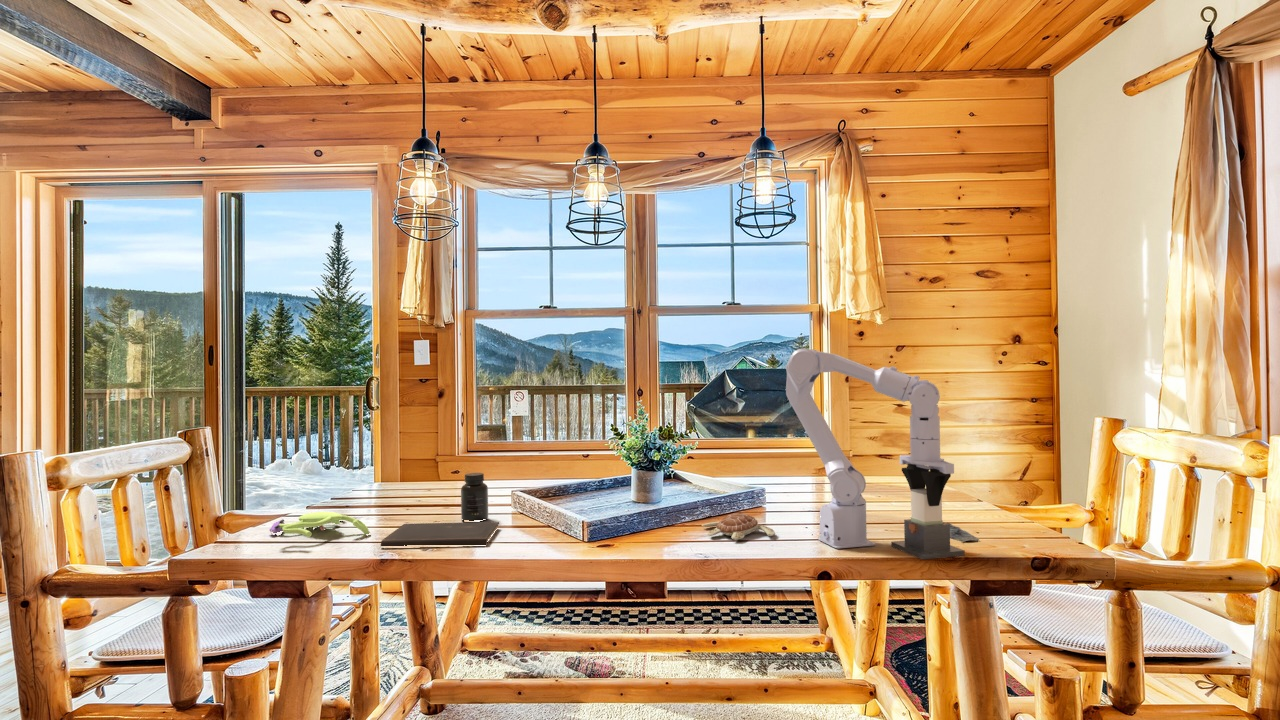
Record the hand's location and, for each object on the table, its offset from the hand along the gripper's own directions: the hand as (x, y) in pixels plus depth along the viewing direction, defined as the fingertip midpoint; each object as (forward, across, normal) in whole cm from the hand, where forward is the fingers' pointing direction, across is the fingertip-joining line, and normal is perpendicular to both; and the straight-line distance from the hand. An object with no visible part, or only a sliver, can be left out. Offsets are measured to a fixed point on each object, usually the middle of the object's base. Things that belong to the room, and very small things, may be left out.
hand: (926, 503), depth 135 cm
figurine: (+11, +52, +128) cm, 139 cm away
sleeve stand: (+10, 0, 0) cm, 10 cm away
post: (+6, 0, 0) cm, 6 cm away
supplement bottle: (+10, +57, +92) cm, 109 cm away
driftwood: (+11, +13, -16) cm, 23 cm away
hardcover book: (+11, +40, +99) cm, 107 cm away
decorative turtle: (+10, +25, +32) cm, 42 cm away
